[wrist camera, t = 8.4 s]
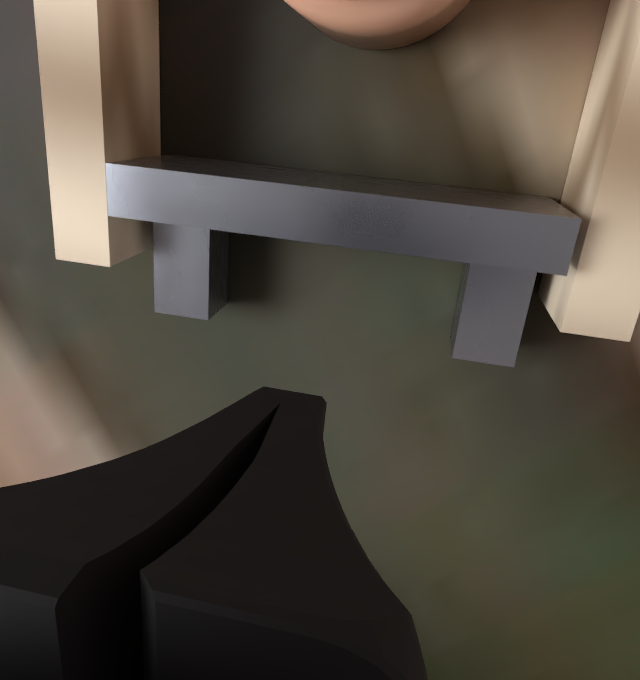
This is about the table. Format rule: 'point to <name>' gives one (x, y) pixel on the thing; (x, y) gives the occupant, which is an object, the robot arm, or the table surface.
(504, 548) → the table surface
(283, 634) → the robot arm
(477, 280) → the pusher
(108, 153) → the beige flat open box
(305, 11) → the terracotta jar
